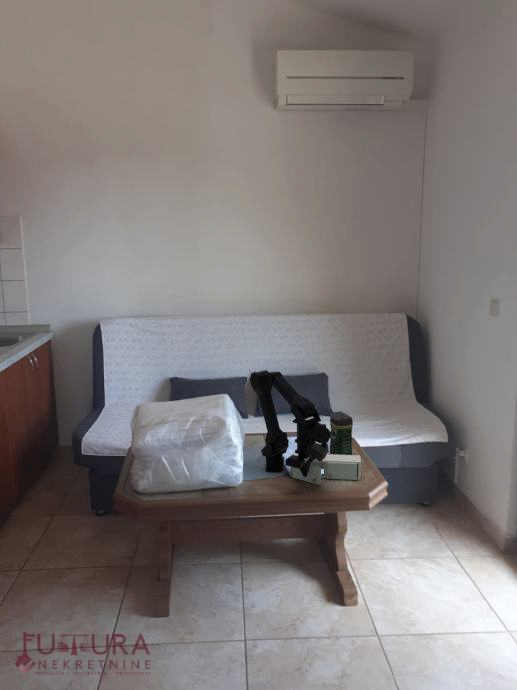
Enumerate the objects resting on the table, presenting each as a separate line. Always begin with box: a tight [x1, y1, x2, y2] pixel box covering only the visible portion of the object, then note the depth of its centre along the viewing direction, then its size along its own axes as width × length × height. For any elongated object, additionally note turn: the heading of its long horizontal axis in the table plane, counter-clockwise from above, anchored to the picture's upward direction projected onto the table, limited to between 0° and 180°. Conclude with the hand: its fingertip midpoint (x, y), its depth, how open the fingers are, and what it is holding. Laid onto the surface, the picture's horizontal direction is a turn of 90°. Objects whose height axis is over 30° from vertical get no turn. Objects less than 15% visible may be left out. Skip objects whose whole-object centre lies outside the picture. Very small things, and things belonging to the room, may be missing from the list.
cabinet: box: [291, 452, 362, 481], centre depth 211 cm, size 26×8×7 cm, turn 83°
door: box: [290, 465, 322, 486], centre depth 206 cm, size 12×2×7 cm, turn 56°
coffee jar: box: [329, 411, 354, 455], centre depth 226 cm, size 10×8×19 cm
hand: (305, 476), depth 204 cm, fingers closed
